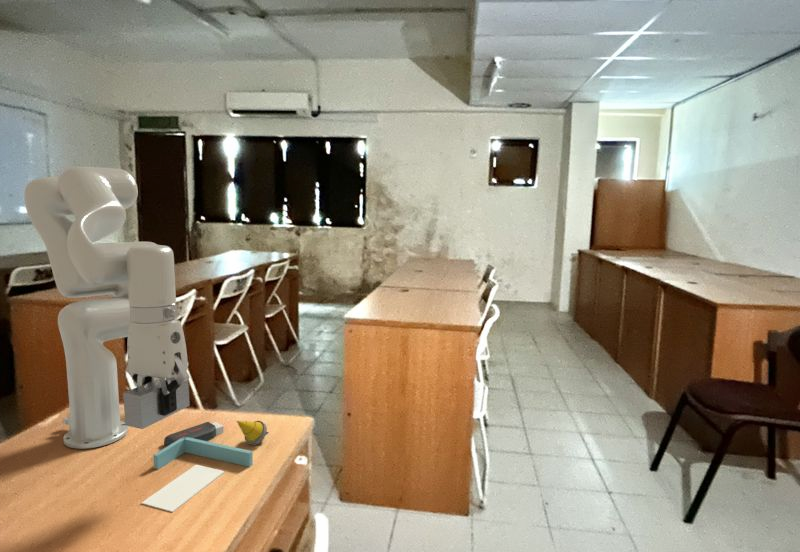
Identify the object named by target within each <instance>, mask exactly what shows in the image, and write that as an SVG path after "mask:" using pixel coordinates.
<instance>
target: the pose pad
mask: <svg viewBox="0 0 800 552" xmlns="http://www.w3.org/2000/svg"><path fill="white" fill-rule="evenodd" d="M225 472H226V471H224V470H221V469H216V468H212V467H208V466H205V465H204V466H203V465H199V464H194V465H193V466H192V467H191V468H189V469H188V470H186V471H185V472H183V473H182V474H181V475H179V476H177V477H176V478H175V479H173V480H172V481H170V482H169V483H167V484H166V485H165V486H163V487H162V488H161V489H159V490H158V491H156V492H154V493H153V494H152V495H150V496H148V497H147V498H146V499H145V500H143V501H142V502H141V505H145V506H148V507H152V508H155V509H159V510H162V511H167V512H171V513H174V512H176V510H178V509H179V508H180V507H182V506H183V505H184V504H185V503H187V502H188V501H189V500H191V499H192V498H193V497H195V496H197V494H199V492H201V491H202V490H204V489H205V488H206V487H207V486H209V485H210V484H211V483H213V482H214V481H215V480H217V479H218V478H219V477H221V475H223V474H225Z"/></svg>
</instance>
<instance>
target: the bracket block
mask: <svg viewBox="0 0 800 552" xmlns="http://www.w3.org/2000/svg"><path fill="white" fill-rule="evenodd" d="M176 375H177V374H176ZM167 381H168V385H169V384H170V382H171V381H170V379H168V380H167ZM122 393H123V394H122V397H123V409H124V422H125V426H128V427H131V428H136V429H140V430H144V429H146V428H148V427H150V426H152V425H154V424H156V423H158V422H159V421H162V420H164V419H166V418H168V417H170V416H172V415H174V414H176V413H178V412H180V411H183V410H184V409H186V408H187V407H190V389H189V379H188V380H187V381H185V382H184V383H182V384H181V385H180V387H179V389H178V390H176V401H177V409H176V411H174V412H172V413H170V414H168V415H166V416H163V415H161V406H160V395H161V394H163V393H162V388H161V383H160V378H157V379H154V381H152V382H149V383H147V384H144V385H142V386H139V387H137V386H136V387H134V388H132V389H129V390H127V391H124V392H122Z"/></svg>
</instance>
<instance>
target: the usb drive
mask: <svg viewBox="0 0 800 552" xmlns="http://www.w3.org/2000/svg"><path fill="white" fill-rule="evenodd" d="M223 433H224V425H223V424H221V423H219V422H217V421H215V422H212V423H211V422H210V421H206V422H203V423H200V424H197V425H195V426H191V427H188V428H185V429H182V430H178V431H176V432H173V433H171V434H169V435H166V436H165V437H164V438H163V445H164V446H165V447H167V446H169V445H171V444H172V443H174V442H176V441H177V440H179V439H181V438H182V437H184V436H185V437H189V438H194V439H198V440H203V441H208V442H209V441H210V440H213V439H214V438H216V437H217V436H218V435H220V434H223Z"/></svg>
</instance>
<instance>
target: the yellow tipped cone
mask: <svg viewBox="0 0 800 552" xmlns="http://www.w3.org/2000/svg"><path fill="white" fill-rule="evenodd" d="M236 423H237V425H238V427H239V428H240V430H241V432H242V434H243V435H244V440H245V443H248V444H249V445H251V446H255V445H256V446H257V445H258V444H260V443H261V442H262V441H263V439H265V437H266V436H267V435H268V434H269V432H268V431H267V430H268V427H267V425H266V424H265V423H264V422H263V421H261V420H255V421H247V420H246V421H245V420H236Z"/></svg>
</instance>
